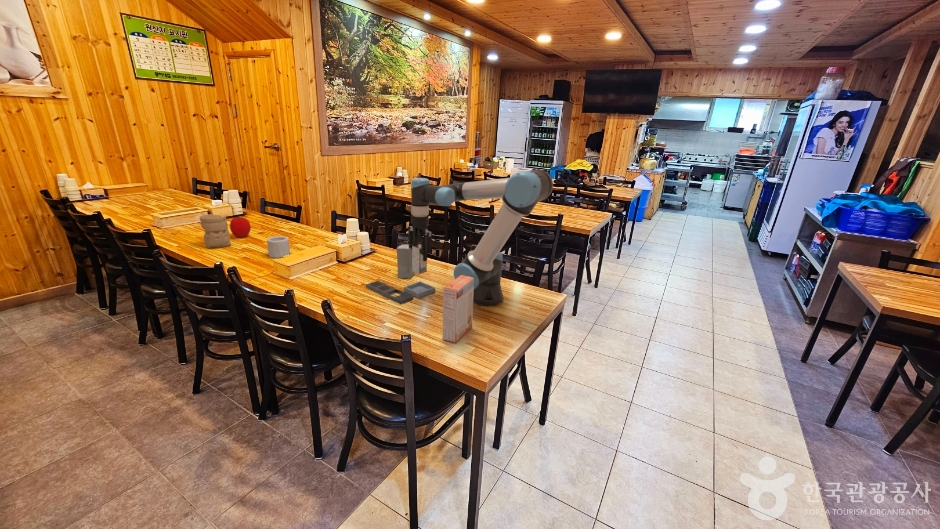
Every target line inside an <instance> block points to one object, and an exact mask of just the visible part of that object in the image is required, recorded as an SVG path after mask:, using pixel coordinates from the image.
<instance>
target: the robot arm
mask: <svg viewBox="0 0 940 529" xmlns="http://www.w3.org/2000/svg"><path fill="white" fill-rule="evenodd" d="M410 187H411V188H410V195H411V196H410V197H411V202H410V203H411V205H410V215H411V216H410V223H411V225H410V226H407V231H408V232H407V233H408V245H409V248H411V250H412V246H415V245H419V241H420V244H421V248H422V253H421V268H424V267H426V261H427V262H428V254H431V253H432V237H433V231H429V229H428V225H429V221H430V219H429V218H430V216H429V215H430V214H429V211H430V207H429V206H430V204H432V205H437V206H440V207H451V206H452V204H454V203H455V202H462V201H463V202H464V201H465V202H466V201H470V200H471V201H475V200H476V201H477V200H489V199H501V201H502V205H501V206H500V208H499V210H498V211H497V213H496V215H495V216H494V218H493V219H492V221H491V223H490V224H489V226H488V228H487V229H486V231H485V232H484V234H483V235H482V236H481V239H480V240H479V242H478V244H477V245H476V247H475V249H473V250H470V251H468V253H467V254H466V256H465V258H464V259H463V261H462V262H460V263H458V264H457V265H455V267H454V268H453V277H454V280H455V279H456V278H458V277H459V276H460V275H464V276H468V277H473V278H474V294H473V304H477V305H480V306H487V307H488V306H489V307H490V306H491V307H492V305H493V306H497V304H498V305H500V304H501V303H502V302H504V294H503V290H502V286H501V283H502V282H501V279H502V269H503V268H502V267H503V261H504V260H503V258H504V257H503V253H502V252H501V250H502V248H503V247H504V246H505V244H506V242H507V241H508V240H509V238H511V237H510V236H512V233H513V232H514V230H515V229H516V228H517V227H518V225H519V223H520V222H521V220H522V219H523V217H527V216H529V215H530V214H531V213H532V212H533V210H534V209H535V207H536V206H537V204H538V203H539V202H543V201H545V200H546V199H548V197H549V196H550V195H551V194H552V192H553V188H554V182H553V178H552V176H551V175H550V174H549V173H548V172H547V171H545V170H542V169H532V170H521V171H518V172H516V173H514V174H512V175H511V176H510V177H505V178H503V177H502V178H498V179H497V178H495V179H488V180H487V179H486V180H478V181H468V182H456V183H452V184H446V185H445V184H444V185H433V184H431V183H430V180H429V179H428V178H427V177H426V178H425V177H413V179H411V185H410ZM499 303H500V304H499Z"/></svg>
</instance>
